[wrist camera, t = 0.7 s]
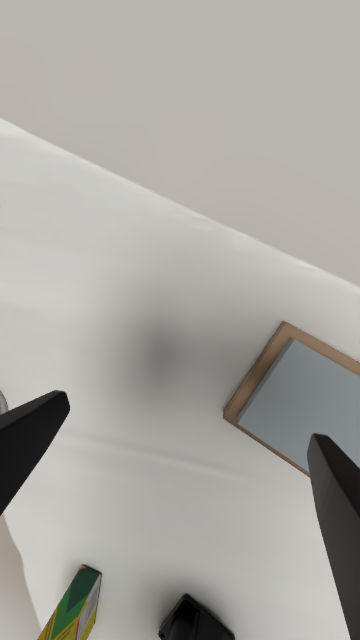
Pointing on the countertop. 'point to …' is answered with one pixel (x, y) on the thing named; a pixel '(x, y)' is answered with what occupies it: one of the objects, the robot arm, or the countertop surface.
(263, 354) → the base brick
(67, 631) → the crayon box
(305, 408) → the top brick
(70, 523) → the countertop surface
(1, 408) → the canned food
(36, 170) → the countertop surface
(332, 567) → the robot arm
